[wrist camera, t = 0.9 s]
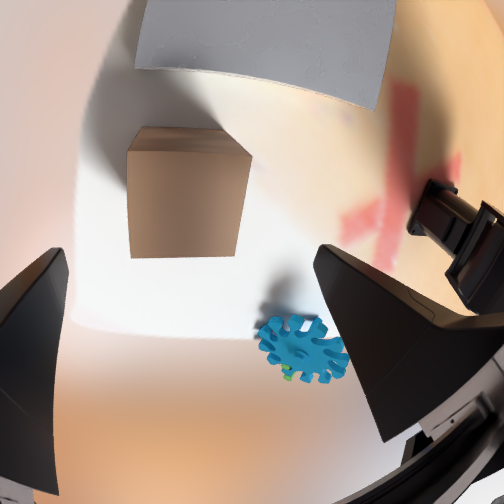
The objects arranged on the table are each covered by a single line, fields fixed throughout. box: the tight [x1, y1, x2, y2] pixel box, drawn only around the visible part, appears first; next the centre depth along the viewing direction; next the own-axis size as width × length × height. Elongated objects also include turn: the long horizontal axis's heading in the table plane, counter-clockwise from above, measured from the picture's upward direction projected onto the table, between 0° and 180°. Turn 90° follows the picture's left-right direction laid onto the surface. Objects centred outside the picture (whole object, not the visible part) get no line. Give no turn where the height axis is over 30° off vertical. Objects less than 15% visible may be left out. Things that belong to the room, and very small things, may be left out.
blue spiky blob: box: [257, 314, 350, 383], centre depth 28 cm, size 11×6×10 cm
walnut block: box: [127, 127, 252, 258], centre depth 13 cm, size 5×5×6 cm
